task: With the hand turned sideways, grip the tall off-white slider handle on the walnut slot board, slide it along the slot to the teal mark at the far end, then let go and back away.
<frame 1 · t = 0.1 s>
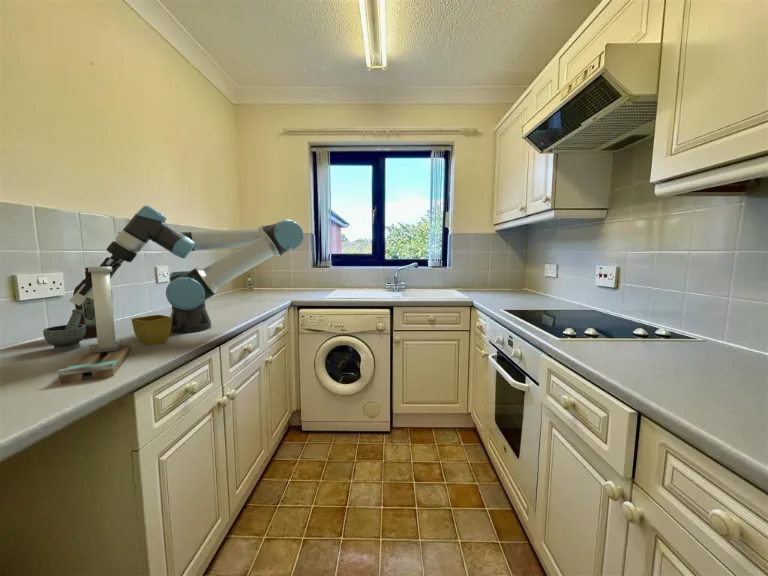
hand: (81, 300, 103), 15 cm above the countertop, tool tilted 35°, fingers open, 13 cm apart
slider: (103, 308, 94), point 14 cm above the countertop, slide at -7.5 cm
mortar and pestle: (69, 348, 103), on the countertop
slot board: (100, 364, 89), on the countertop
flower pot: (153, 344, 109), on the countertop
olive oil: (96, 335, 120), on the countertop
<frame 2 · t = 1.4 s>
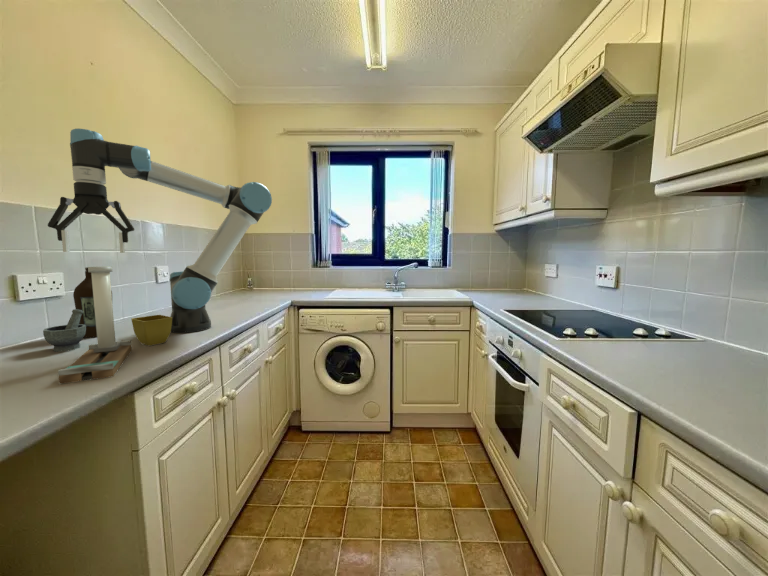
hand: (95, 252, 102), 31 cm above the countertop, tool pointing down, fingers open, 13 cm apart
nothing on the countertop moved.
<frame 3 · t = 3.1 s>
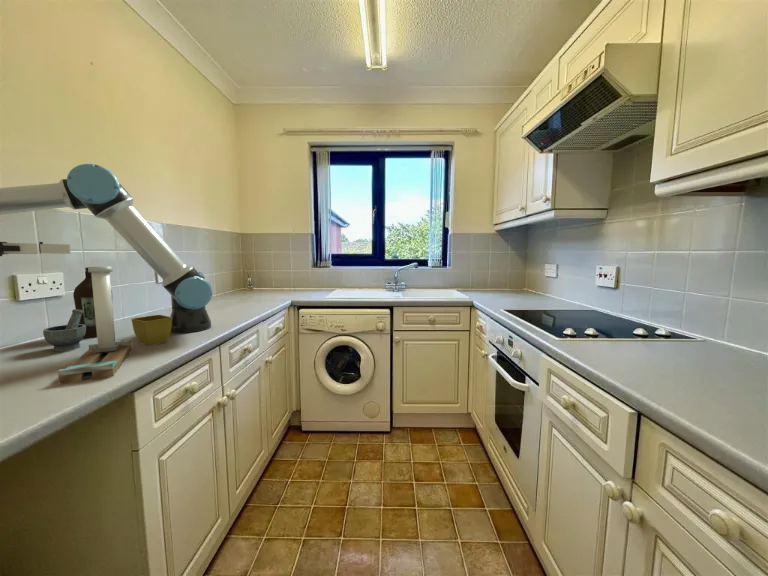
hand: (55, 249, 89), 32 cm above the countertop, tool horizontal, fingers open, 13 cm apart
nothing on the countertop moved.
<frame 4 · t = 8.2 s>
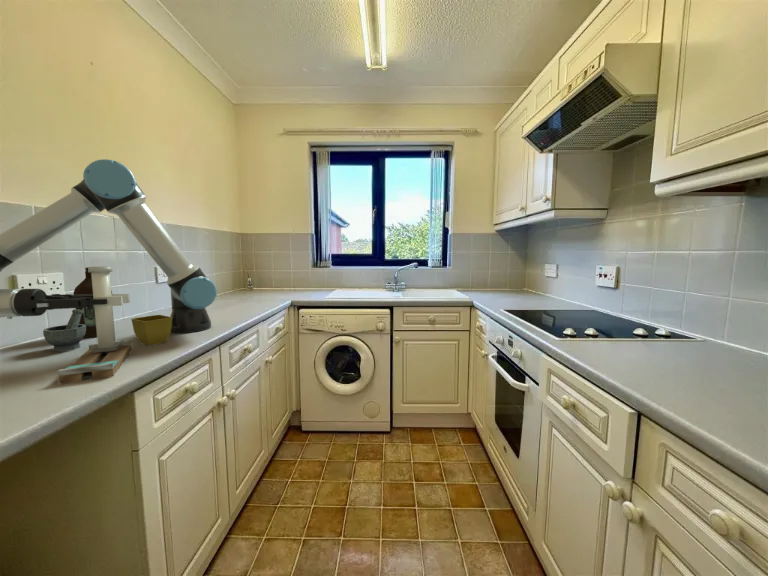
hand: (125, 299, 95), 17 cm above the countertop, tool horizontal, fingers closed on slider, 4 cm apart
slider: (103, 308, 94), point 14 cm above the countertop, slide at -7.5 cm, touching gripper
everything else where it was.
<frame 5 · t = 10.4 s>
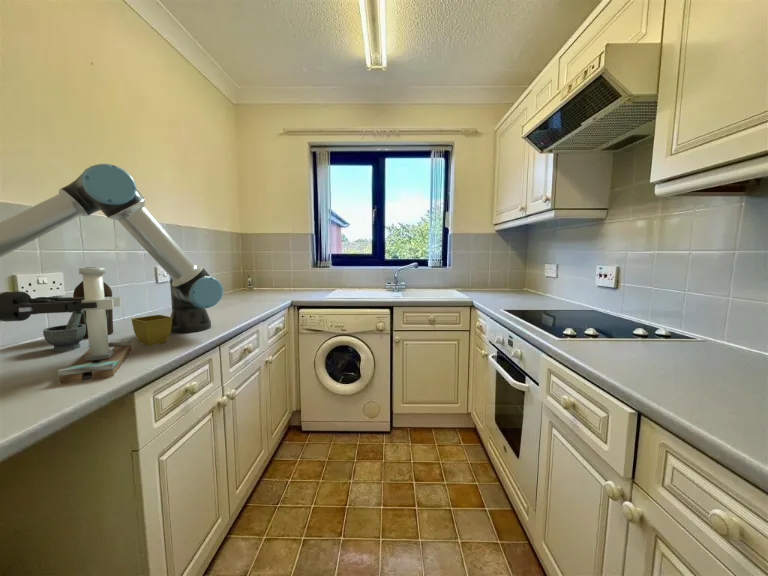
hand: (116, 302, 88), 17 cm above the countertop, tool horizontal, fingers closed on slider, 4 cm apart
slider: (96, 313, 87), point 14 cm above the countertop, slide at 0.2 cm, touching gripper
everything else where it was.
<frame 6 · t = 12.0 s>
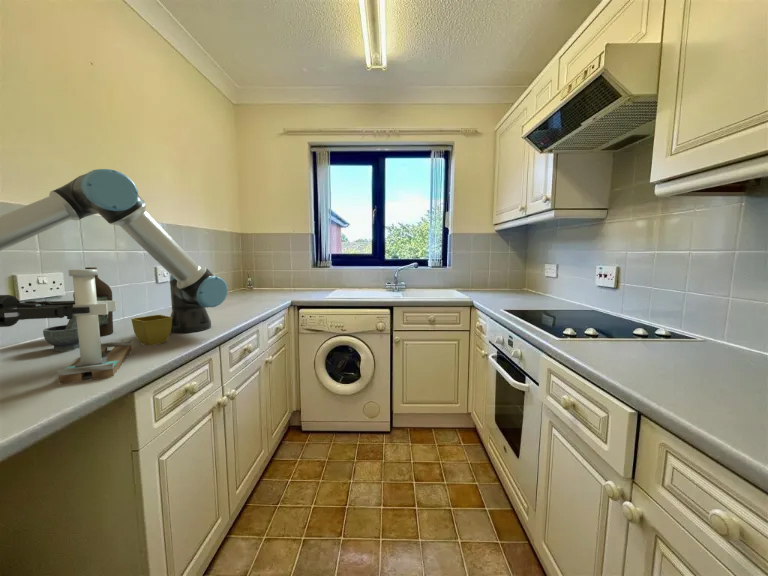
hand: (111, 307, 82), 17 cm above the countertop, tool horizontal, fingers closed on slider, 4 cm apart
slider: (87, 318, 81), point 14 cm above the countertop, slide at 7.4 cm, touching gripper
everything else where it was.
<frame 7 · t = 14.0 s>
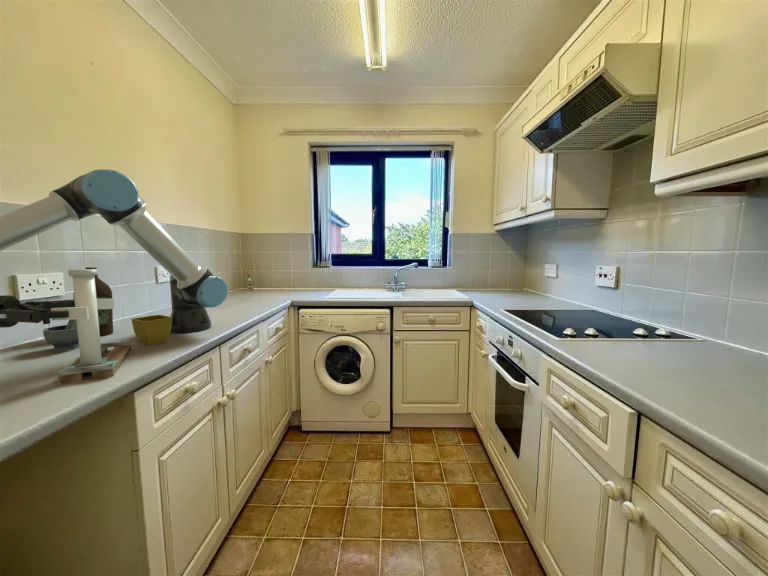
hand: (102, 307, 81), 17 cm above the countertop, tool horizontal, fingers open, 13 cm apart
slider: (87, 318, 81), point 14 cm above the countertop, slide at 7.5 cm
everything else where it was.
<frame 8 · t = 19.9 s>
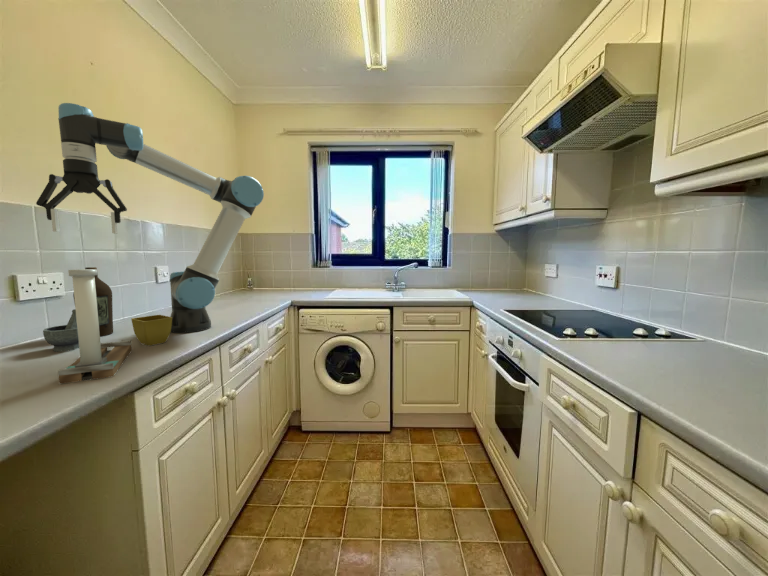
hand: (86, 232, 99), 37 cm above the countertop, tool pointing down, fingers open, 13 cm apart
nothing on the countertop moved.
at the end: slider slide at 7.5 cm; the gripper is holding nothing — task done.
